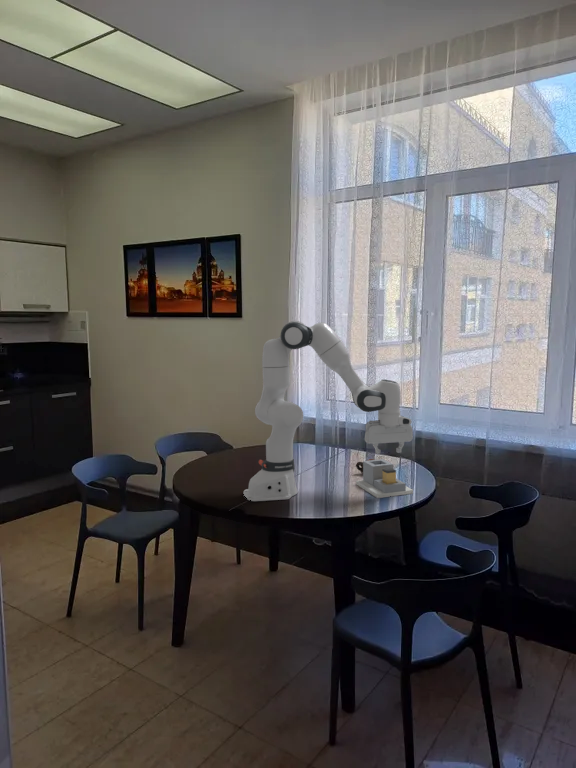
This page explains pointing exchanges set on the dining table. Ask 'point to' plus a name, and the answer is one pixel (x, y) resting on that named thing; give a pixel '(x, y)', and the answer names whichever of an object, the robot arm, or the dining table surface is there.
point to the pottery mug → (361, 465)
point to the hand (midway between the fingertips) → (388, 453)
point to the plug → (389, 475)
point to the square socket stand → (380, 480)
